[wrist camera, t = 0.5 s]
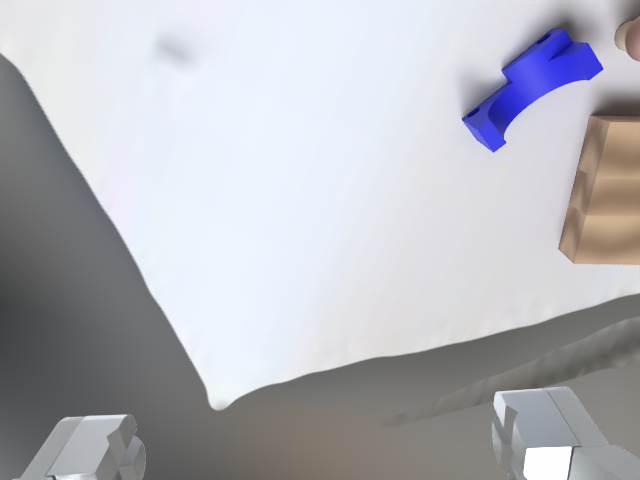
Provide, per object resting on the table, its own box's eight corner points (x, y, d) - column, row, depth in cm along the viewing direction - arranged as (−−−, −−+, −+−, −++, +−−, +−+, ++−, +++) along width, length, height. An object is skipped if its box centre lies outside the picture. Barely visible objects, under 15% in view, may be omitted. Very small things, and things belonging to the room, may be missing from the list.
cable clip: (551, 29, 48) (579, 29, 43) (573, 64, 50) (603, 69, 44) (453, 108, 52) (468, 118, 46) (476, 139, 53) (493, 152, 48)
